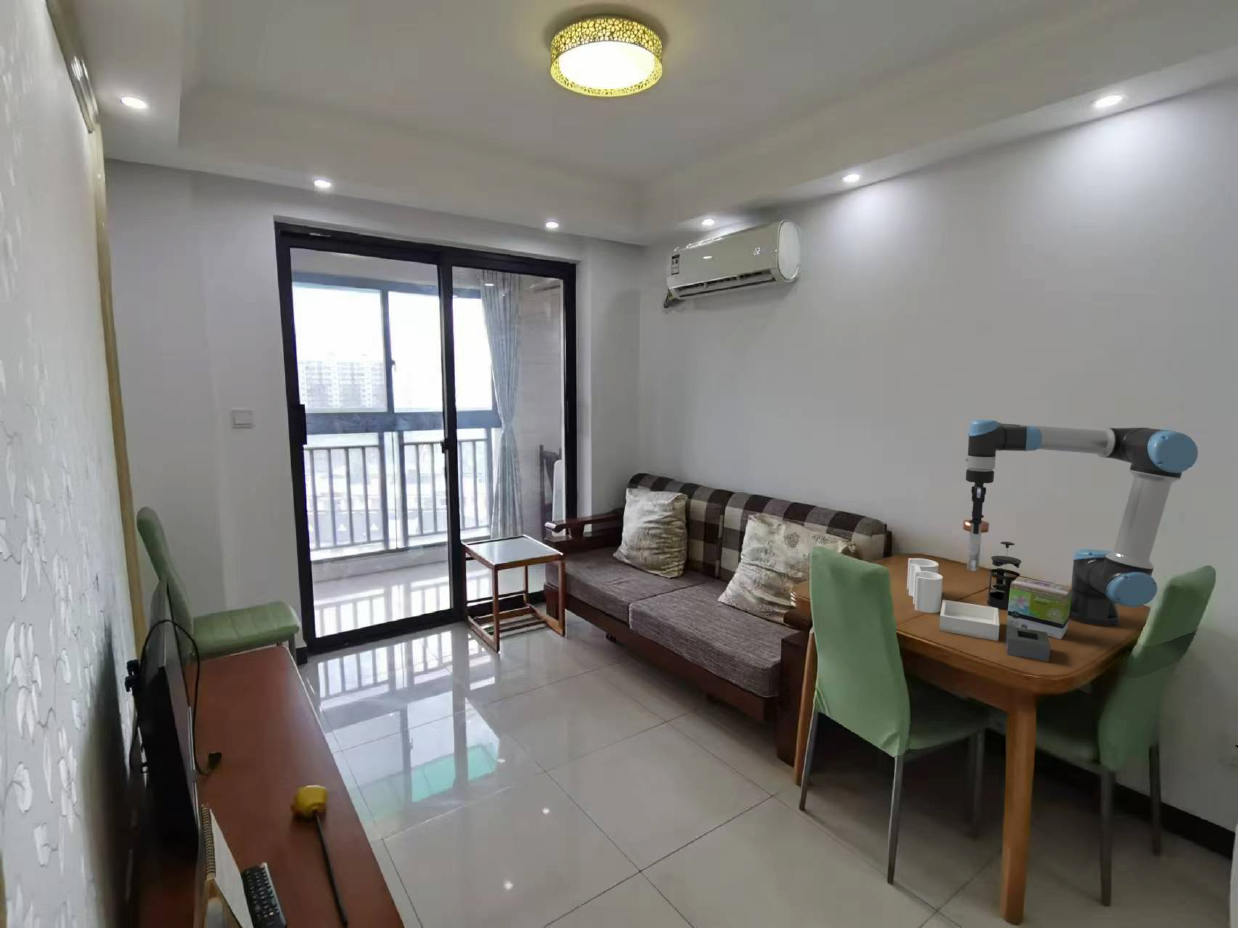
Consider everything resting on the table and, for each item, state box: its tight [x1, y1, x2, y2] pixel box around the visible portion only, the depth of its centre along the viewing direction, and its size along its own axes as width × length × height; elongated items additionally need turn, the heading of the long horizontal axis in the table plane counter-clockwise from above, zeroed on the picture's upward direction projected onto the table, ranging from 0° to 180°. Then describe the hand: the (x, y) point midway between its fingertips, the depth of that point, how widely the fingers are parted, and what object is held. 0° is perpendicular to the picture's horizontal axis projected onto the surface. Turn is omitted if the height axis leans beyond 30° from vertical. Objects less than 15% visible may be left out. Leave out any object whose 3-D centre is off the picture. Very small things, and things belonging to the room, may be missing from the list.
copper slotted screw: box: [962, 519, 990, 572], centre depth 191 cm, size 7×7×16 cm
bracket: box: [906, 557, 944, 614], centre depth 217 cm, size 25×10×12 cm, turn 159°
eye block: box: [1005, 625, 1051, 663], centre depth 176 cm, size 10×10×5 cm
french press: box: [986, 541, 1022, 611], centre depth 211 cm, size 12×9×23 cm
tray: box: [938, 599, 1000, 642], centre depth 194 cm, size 16×16×5 cm
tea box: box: [1006, 576, 1072, 640], centre depth 191 cm, size 15×10×15 cm
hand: (974, 540), depth 190 cm, fingers closed on copper slotted screw, 7 cm apart
